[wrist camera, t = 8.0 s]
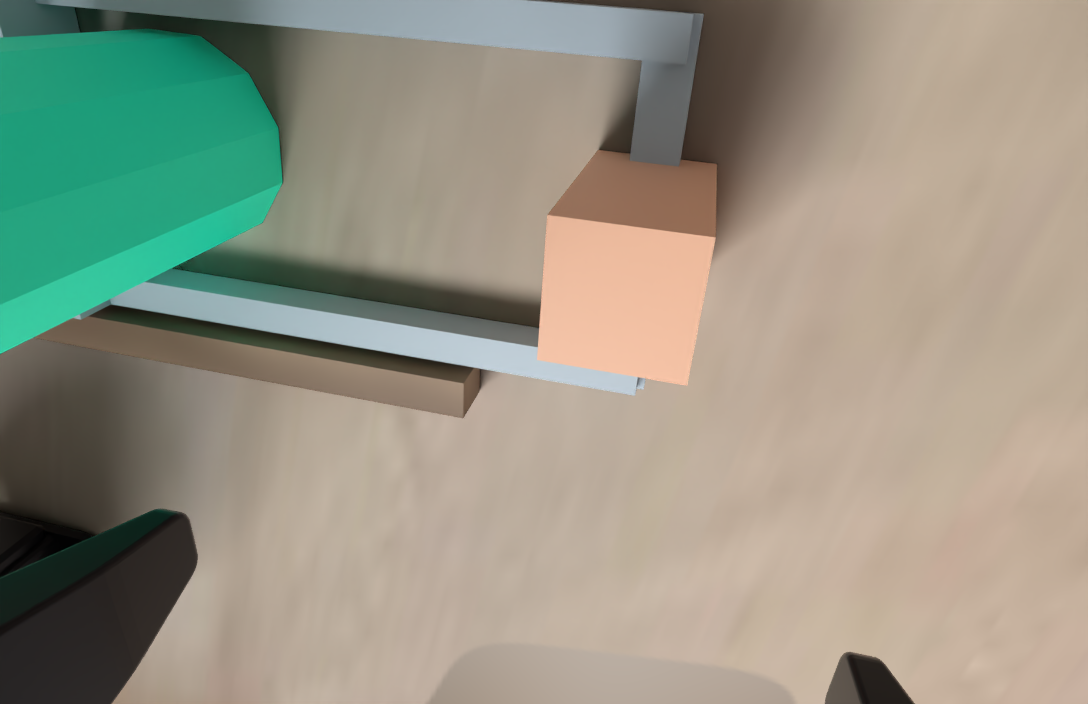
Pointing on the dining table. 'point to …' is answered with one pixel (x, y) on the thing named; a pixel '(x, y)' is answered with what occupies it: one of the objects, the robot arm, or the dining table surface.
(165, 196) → the candle
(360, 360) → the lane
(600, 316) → the frame
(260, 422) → the dining table surface
